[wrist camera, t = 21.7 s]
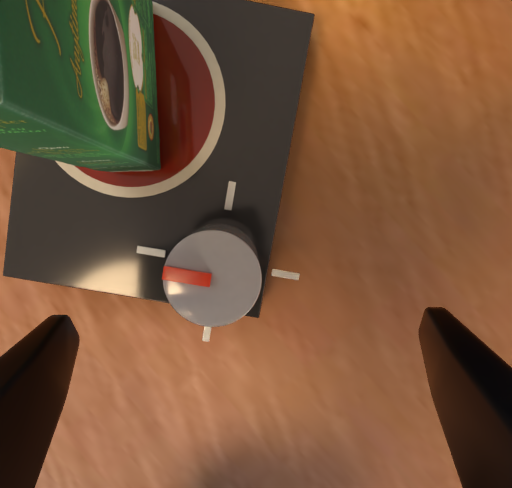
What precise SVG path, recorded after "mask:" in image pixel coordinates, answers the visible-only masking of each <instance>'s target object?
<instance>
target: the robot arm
mask: <svg viewBox="0 0 512 488" xmlns="http://www.w3.org/2000/svg"><path fill="white" fill-rule="evenodd" d="M419 340H420V345H421V349H422V354H423V359H424V363H425V368H426V372H427V377H428V382H429V386H430V391H431V395H432V398H433V401H434V405H435V408H436V411H437V414H438V416H439V419H440V422H441V425H442V428H443V431H444V434H445V437H446V440H447V443H448V446H449V449H450V452H451V455H452V458H453V461H454V464H455V467H456V469H457V472H458V475H459V478H460V481H461V484H462V487H463V488H512V367H510V366H509V365H508V364H507V363H506V362H505V361H504V360H503V359H501V358H500V357H499V356H498V355H497V354H496V353H495V352H494V351H492V350H491V349H490V348H489V347H488V346H487V345H486V344H485V343H484V342H482V341H481V340H480V339H479V338H478V337H477V336H476V335H475V334H473V333H472V332H471V331H470V330H469V329H468V328H467V327H466V326H464V325H463V324H462V323H461V322H460V321H459V320H458V319H457V318H455V317H454V316H453V315H452V314H451V313H450V312H449V311H448V310H446V309H445V308H443V307H428V308H426V309H425V311H424V313H423V317H422V320H421V324H420V327H419ZM78 347H79V335H78V332H77V330H76V328H75V327H74V325H73V323H72V321H71V319H70V317H69V316H67V315H52V316H50V317H48V318H47V319H46V320H45V321H43V322H42V323H41V324H40V325H38V326H37V327H36V328H35V329H34V330H32V331H31V332H30V333H29V334H28V335H26V336H25V337H24V338H23V339H22V340H20V341H19V342H18V343H17V344H15V345H14V346H13V347H12V348H11V349H9V350H8V351H7V352H6V353H5V354H3V355H2V356H1V357H0V488H35V485H36V482H37V479H38V477H39V474H40V471H41V468H42V465H43V463H44V460H45V457H46V454H47V451H48V448H49V446H50V443H51V440H52V437H53V434H54V432H55V429H56V426H57V423H58V420H59V418H60V415H61V412H62V409H63V406H64V403H65V400H66V397H67V393H68V389H69V385H70V381H71V376H72V372H73V368H74V364H75V359H76V355H77V351H78Z"/></svg>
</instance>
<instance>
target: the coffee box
mask: <svg viewBox="0 0 512 488" xmlns="http://www.w3.org/2000/svg"><path fill="white" fill-rule="evenodd" d="M0 148H4V149H8V150H12V151H17V152H21V153H25V154H29V155H33V156H37V157H42V158H46V159H51V160H55V161H59V162H63V163H66V164H71V165H74V166H78V167H86V168H89V169H93V170H97V171H106V172H129V171H153V170H160V169H161V164H160V137H159V124H158V109H157V85H156V63H155V44H154V22H153V2H152V0H0Z"/></svg>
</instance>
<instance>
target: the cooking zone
mask: <svg viewBox="0 0 512 488" xmlns="http://www.w3.org/2000/svg"><path fill="white" fill-rule="evenodd" d="M153 22H154V44H155V63H156V85H157V109H158V124H159V137H160V164H161V169H160V170H153V171H129V172H106V171H97V170H93V169H89V168H86V167H78V166H74V165H71V164H66V163H63V162H59V161H56V162H57V163H58V165H59V166H60V167H61V168H62V169H63V170H64V171H66V172H67V173H68V174H69V175H70V176H71V177H73V178H74V179H76V180H77V181H78V182H80V183H82V184H83V185H85V186H87V187H89V188H91V189H93V190H96V191H99V192H101V193H104V194H108V195H112V196H118V197H127V198H134V197H146V196H153V195H156V194H160V193H163V192H166V191H168V190H170V189H173V188H175V187H177V186H178V185H180V184H182V183H183V182H185V181H186V180H188V179H189V178H190V177H191V176H192V175H194V174H195V173H196V172H197V171H198V170H199V169H200V168H201V167H202V166H203V164H204V163H205V162H206V160H207V159H208V158H209V156H210V155H211V153H212V151H213V149H214V148H215V146H216V144H217V142H218V139H219V136H220V133H221V131H222V126H223V122H224V117H225V106H226V103H225V88H224V82H223V77H222V74H221V70H220V67H219V64H218V62H217V60H216V57H215V55H214V53H213V51H212V50H211V48H210V46H209V45H208V43H207V42H206V40H205V39H204V38H203V36H202V35H201V34H200V32H199V31H198V30H197V29H196V28H195V27H194V26H193V25H192V24H191V23H190V22H188V21H187V20H186V19H185V18H183V17H182V16H181V15H179V14H178V13H176V12H174V11H173V10H171V9H169V8H167V7H165V6H163V5H160V4H158V3H156V2H153Z"/></svg>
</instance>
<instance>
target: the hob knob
mask: <svg viewBox="0 0 512 488" xmlns="http://www.w3.org/2000/svg"><path fill="white" fill-rule="evenodd" d="M162 280H163V286H164V291H165V294H166V296H167V298H168V301H169V302H170V304H171V305H172V307H173V308H174V309H175V310H176V312H177V313H179V314H180V315H181V316H182V317H183V318H185V319H186V320H188V321H190V322H192V323H195V324H197V325H201V326H207V327H219V326H224V325H228V324H231V323H233V322H235V321H237V320H239V319H240V318H242V317H243V316H244V315H246V314H247V313H248V312H249V311H250V310H251V308H252V307H253V306H254V304H255V302H256V300H257V298H258V296H259V293H260V289H261V283H262V274H261V268H260V263H259V258H258V253H257V250H256V248H255V245H254V244H253V242H252V240H251V239H250V238H249V237H248V236H247V235H246V234H245V233H244V232H243V231H241V230H240V229H238V228H236V227H234V226H232V225H228V224H222V223H214V224H209V225H205V226H203V227H200V228H199V229H197V230H195V231H194V232H192V233H191V234H190V235H188V236H187V237H185V238H184V239H182V240H181V241H180V242H179V243H178V244H177V245H176V246H175V247H174V248H173V249H172V251H171V252H170V254H169V256H168V258H167V260H166V263H165V266H164V267H163V274H162Z"/></svg>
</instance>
